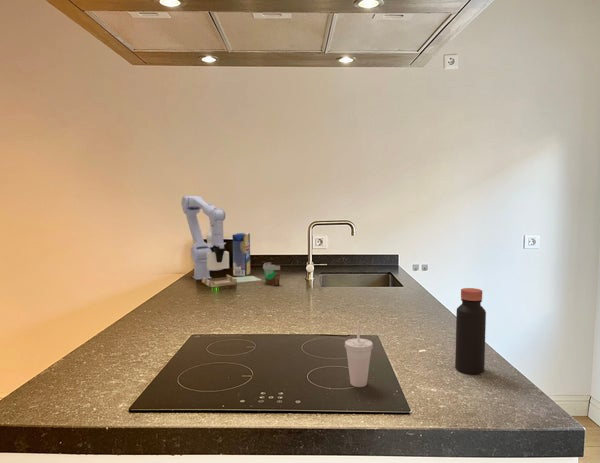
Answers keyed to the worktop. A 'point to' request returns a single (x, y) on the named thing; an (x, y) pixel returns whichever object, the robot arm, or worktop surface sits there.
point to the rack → (210, 281)
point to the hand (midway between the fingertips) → (218, 261)
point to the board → (247, 279)
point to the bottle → (470, 332)
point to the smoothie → (358, 359)
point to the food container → (271, 274)
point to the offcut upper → (221, 282)
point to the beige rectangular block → (213, 262)
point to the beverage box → (241, 254)
